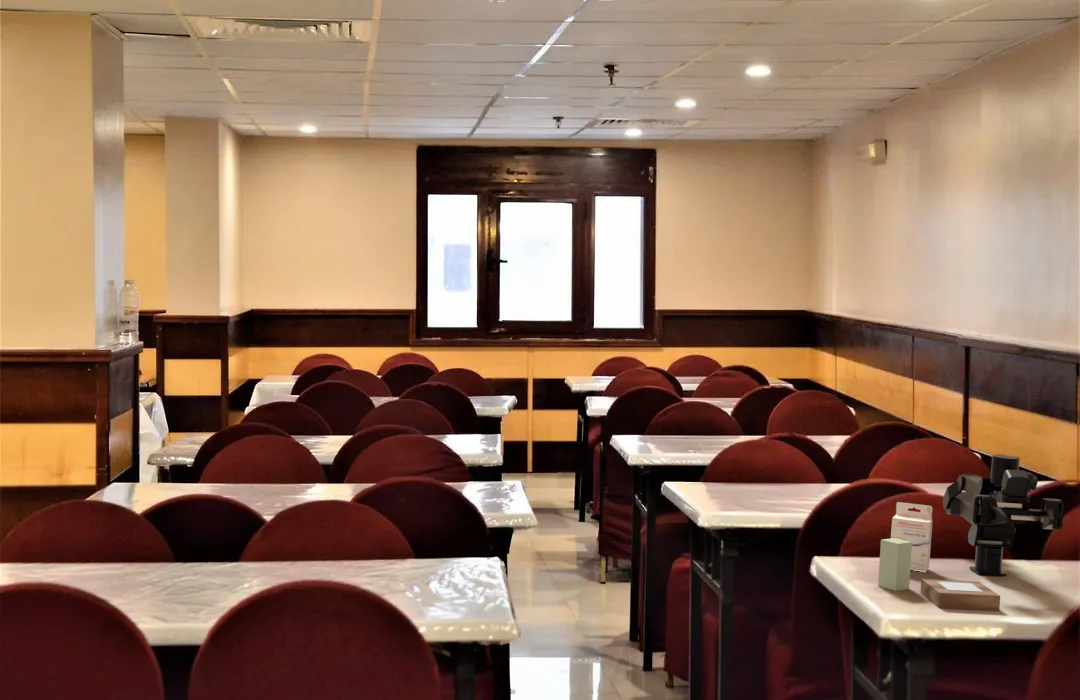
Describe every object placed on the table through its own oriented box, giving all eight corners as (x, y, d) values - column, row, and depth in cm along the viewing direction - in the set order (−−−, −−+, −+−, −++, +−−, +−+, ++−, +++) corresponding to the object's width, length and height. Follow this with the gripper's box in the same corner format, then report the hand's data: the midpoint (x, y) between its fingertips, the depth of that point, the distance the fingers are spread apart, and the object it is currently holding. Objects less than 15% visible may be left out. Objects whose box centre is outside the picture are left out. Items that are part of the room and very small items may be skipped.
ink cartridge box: (887, 568, 276) (891, 504, 275) (891, 564, 280) (895, 501, 280) (927, 573, 272) (931, 508, 272) (929, 569, 277) (933, 505, 276)
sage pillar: (878, 586, 257) (880, 539, 257) (891, 584, 260) (894, 538, 260) (895, 591, 254) (898, 543, 253) (909, 588, 256) (912, 542, 256)
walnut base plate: (920, 593, 253) (921, 578, 253) (978, 595, 253) (979, 581, 253) (938, 607, 241) (940, 592, 241) (999, 610, 241) (1000, 595, 241)
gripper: (965, 465, 266) (986, 479, 250) (1052, 470, 264) (1079, 485, 249) (961, 515, 267) (982, 532, 251) (1048, 520, 265) (1074, 538, 250)
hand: (1029, 520), depth 250 cm, fingers open, 9 cm apart
